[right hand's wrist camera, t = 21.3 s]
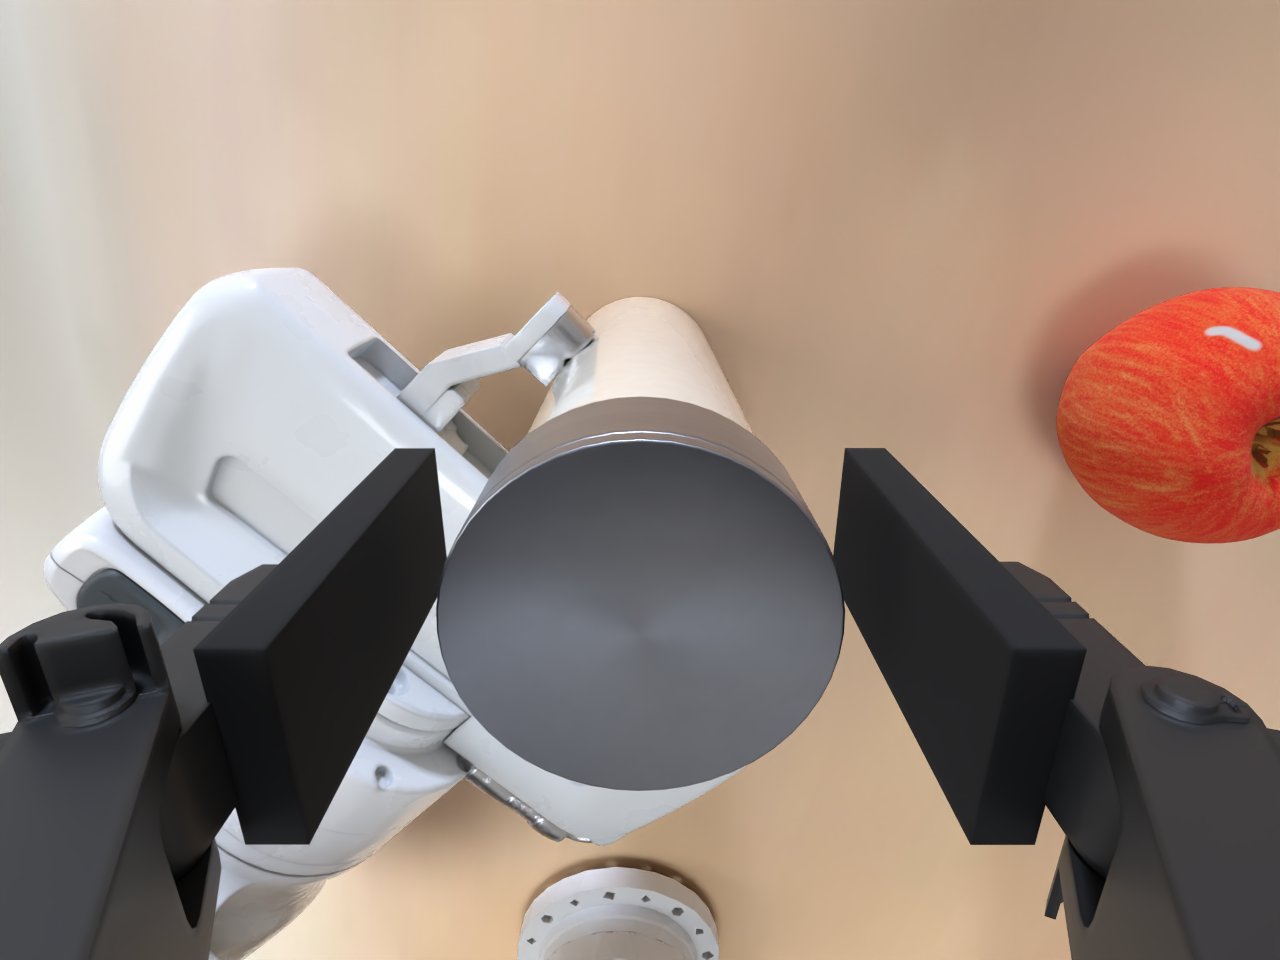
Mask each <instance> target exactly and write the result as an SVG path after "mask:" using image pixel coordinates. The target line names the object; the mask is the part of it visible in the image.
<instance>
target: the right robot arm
mask: <svg viewBox="0 0 1280 960" xmlns="http://www.w3.org/2000/svg"><path fill="white" fill-rule="evenodd" d="M833 557H834V559H835V562H836V564H837V568H838V572H839V575H840V579H841V583H842V587H843V596H844V601H845V603H846V604H847V606H848V608H849V610H850V612H851V614H852V616H853V618H854V620H855V622H856V624H857V626H858V628H859V630H860V632H861V634H862V635H863V637H864V639H865V641H866V643H867V645H868V647H869V649H870V651H871V653H872V655H873V657H874V659H875V661H876V663H877V664H878V666H879V668H880V670H881V672H882V674H883V676H884V678H885V680H886V682H887V684H888V686H889V688H890V690H891V692H892V694H893V695H894V697H895V699H896V701H897V703H898V705H899V707H900V709H901V711H902V713H903V715H904V717H905V719H906V721H907V723H908V725H909V726H910V728H911V730H912V732H913V734H914V736H915V738H916V740H917V742H918V744H919V746H920V748H921V750H922V752H923V754H924V755H925V757H926V759H927V761H928V763H929V765H930V767H931V769H932V771H933V773H934V775H935V777H936V779H937V781H938V783H939V785H940V786H941V788H942V790H943V792H944V794H945V796H946V798H947V800H948V802H949V804H950V806H951V808H952V810H953V812H954V814H955V815H956V817H957V819H958V821H959V823H960V825H961V827H962V829H963V831H964V833H965V835H966V837H967V839H968V841H969V843H970V845H1035V842H1036V838H1037V834H1038V831H1039V827H1040V823H1041V819H1042V816H1043V812H1044V808H1045V805H1046V806H1047V808H1048V809H1049V811H1050V812H1051V814H1052V815H1053V817H1054V818H1055V819H1056V821H1057V822H1058V824H1059V825H1060V827H1061V828H1062V830H1063V831H1064V833H1065V834H1066V837H1065V840H1064V843H1063V847H1062V850H1061V854H1060V857H1059V861H1058V864H1057V868H1056V871H1055V875H1054V878H1053V882H1052V885H1051V889H1050V892H1049V896H1048V899H1047V904H1046V910H1045V916H1046V917H1049V918H1052V919H1056V916H1057V913H1058V910H1059V906H1060V903H1062V902H1064V909H1065V916H1066V923H1067V930H1068V937H1069V944H1070V951H1071V957H1072V960H1280V731H1279V730H1273V729H1268V728H1266V726H1265V725H1264V723H1263V721H1262V720H1261V719H1260V717H1259V716H1258V715H1257V714H1256V713H1255V712H1254V711H1253V710H1252V709H1251V707H1250V706H1249V705H1248V704H1247V703H1245V702H1244V701H1242V700H1241V699H1239V698H1238V697H1236V696H1235V695H1233V694H1232V693H1230V692H1229V691H1227V690H1226V689H1224V688H1222V687H1220V686H1217V685H1215V684H1213V683H1211V682H1208V681H1206V680H1204V679H1202V678H1199V677H1197V676H1194V675H1191V674H1187V673H1183V672H1180V671H1176V670H1173V669H1169V668H1162V667H1153V666H1145V665H1144V664H1143V663H1142V662H1141V661H1140V660H1139V659H1138V658H1136V657H1135V656H1134V655H1133V654H1132V653H1131V652H1130V651H1129V650H1128V649H1127V648H1125V647H1124V646H1123V645H1122V644H1121V643H1120V642H1119V641H1118V640H1117V639H1116V638H1115V637H1113V636H1112V635H1111V634H1110V633H1109V632H1108V631H1107V630H1106V629H1105V628H1104V627H1102V626H1101V625H1100V624H1099V623H1098V622H1097V621H1096V620H1095V619H1094V618H1089V614H1088V613H1087V612H1086V611H1085V610H1084V609H1083V608H1082V607H1081V606H1079V605H1078V604H1077V603H1076V602H1071V597H1070V596H1068V595H1067V594H1066V593H1065V592H1064V591H1063V590H1062V589H1061V588H1060V587H1059V586H1057V585H1056V584H1055V583H1054V582H1053V581H1052V580H1051V579H1050V578H1048V577H1046V576H1044V575H1042V574H1040V573H1038V572H1036V571H1035V570H1033V569H1031V568H1029V567H1027V566H1025V565H1023V564H1021V563H1019V562H999V561H998V560H997V559H996V558H995V557H994V556H993V555H992V554H991V553H990V552H989V551H988V550H987V549H986V548H985V547H984V546H983V545H982V544H981V543H980V542H979V541H978V540H977V539H976V538H975V537H974V536H973V535H972V534H971V533H970V532H969V531H968V530H967V529H966V528H965V527H964V526H963V525H962V524H961V523H960V522H959V521H958V520H957V519H956V518H955V517H954V516H953V515H952V514H951V513H950V512H949V511H948V510H947V509H946V508H945V507H944V506H943V505H942V504H940V503H939V502H938V501H937V500H936V499H935V498H934V497H933V496H932V495H931V494H930V493H929V492H928V491H927V490H926V489H925V488H924V487H923V486H922V485H921V484H920V483H919V482H918V481H917V480H916V479H915V478H914V477H913V476H912V475H911V474H910V473H909V472H908V471H907V470H906V469H905V468H904V467H903V466H902V465H901V464H900V463H899V462H898V461H897V460H896V459H895V458H894V457H893V456H892V455H891V454H890V453H889V452H888V451H887V450H886V449H885V448H845V454H844V463H843V472H842V481H841V490H840V499H839V508H838V518H837V527H836V536H835V545H834V554H833ZM446 559H447V554H446V545H445V536H444V527H443V518H442V508H441V499H440V490H439V481H438V472H437V463H436V454H435V448H395V449H394V450H393V451H392V452H391V453H390V454H389V455H388V456H387V457H386V458H385V459H384V460H383V461H382V462H381V463H380V464H379V465H378V466H377V467H376V468H375V469H374V470H373V471H372V472H371V473H370V474H369V475H368V476H367V477H366V478H365V479H364V480H363V481H362V482H361V483H360V484H359V485H358V486H357V487H356V488H355V489H354V490H353V491H352V492H351V493H350V494H349V495H348V496H347V497H346V498H345V499H344V500H343V501H342V502H341V503H340V504H338V505H337V506H336V507H335V508H334V509H333V510H332V511H331V512H330V513H329V514H328V515H327V516H326V517H325V518H324V519H323V520H322V521H321V522H320V523H319V524H318V525H317V526H316V527H315V528H314V529H313V530H312V531H311V532H310V533H309V534H308V535H307V536H306V537H305V538H304V539H303V540H302V541H301V542H300V543H299V544H298V545H297V546H296V547H295V548H294V549H293V550H292V551H291V552H290V553H289V554H288V555H287V556H286V557H285V558H284V559H283V560H282V561H281V562H280V563H279V564H262V565H260V566H258V567H256V568H254V569H253V570H251V571H249V572H247V573H245V574H243V575H241V576H239V577H237V578H235V579H234V580H232V581H230V582H229V583H228V584H227V585H226V586H225V587H224V588H223V589H222V590H220V591H219V592H218V593H217V594H216V595H215V596H214V597H213V598H212V599H211V600H210V603H209V604H205V605H204V606H203V607H202V608H201V609H200V610H199V611H198V612H197V613H195V614H194V615H193V616H192V620H191V621H187V622H186V623H185V624H183V625H182V626H181V627H180V628H179V629H178V630H177V631H176V632H175V633H174V634H173V635H171V636H170V637H169V638H168V639H167V640H166V641H165V642H164V643H163V644H162V645H161V646H160V645H159V642H158V638H157V635H156V631H155V628H154V624H153V621H152V618H151V614H150V612H149V611H147V610H146V609H144V608H142V607H141V606H139V605H132V604H123V603H112V604H101V605H91V606H87V607H83V608H79V609H75V610H71V611H66V612H62V613H59V614H57V615H54V616H52V617H49V618H46V619H44V620H41V621H38V622H36V623H33V624H31V625H29V626H27V627H26V628H24V629H22V630H20V631H19V632H17V633H15V634H13V635H11V636H10V637H8V638H7V639H6V640H4V641H3V642H2V643H1V644H0V675H1V678H2V680H3V683H4V685H5V688H6V691H7V693H8V696H9V698H10V701H11V703H12V706H13V708H14V711H15V714H16V716H17V719H18V723H17V724H16V726H15V728H14V730H13V731H12V732H9V733H4V734H0V960H209V953H210V946H211V939H212V932H213V925H214V918H215V911H216V904H217V897H218V890H219V883H220V876H221V869H222V868H221V861H220V854H219V850H218V847H217V843H216V840H215V837H216V835H217V834H218V832H219V831H220V829H221V828H222V826H223V825H224V823H225V822H226V820H227V819H228V817H229V816H230V814H231V813H232V811H233V810H234V808H236V812H237V816H238V819H239V823H240V827H241V831H242V834H243V838H244V842H245V845H310V843H311V841H312V839H313V837H314V835H315V833H316V831H317V829H318V827H319V825H320V823H321V821H322V819H323V817H324V815H325V814H326V812H327V810H328V808H329V806H330V804H331V802H332V800H333V798H334V796H335V794H336V792H337V790H338V788H339V786H340V785H341V783H342V781H343V779H344V777H345V775H346V773H347V771H348V769H349V767H350V765H351V763H352V761H353V759H354V757H355V755H356V754H357V752H358V750H359V748H360V746H361V744H362V742H363V740H364V738H365V736H366V734H367V732H368V730H369V728H370V726H371V724H372V723H373V721H374V719H375V717H376V715H377V713H378V711H379V709H380V707H381V705H382V703H383V701H384V699H385V697H386V695H387V694H388V692H389V690H390V688H391V686H392V684H393V682H394V680H395V678H396V676H397V674H398V672H399V670H400V668H401V666H402V664H403V663H404V661H405V659H406V657H407V655H408V653H409V651H410V649H411V647H412V645H413V643H414V641H415V639H416V637H417V635H418V634H419V632H420V630H421V628H422V626H423V624H424V622H425V620H426V618H427V616H428V614H429V612H430V610H431V608H432V606H433V604H434V603H435V601H436V599H437V596H438V587H439V582H440V579H441V575H442V572H443V568H444V564H445V561H446Z"/></svg>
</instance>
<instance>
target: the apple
mask: <svg viewBox="0 0 1280 960" xmlns="http://www.w3.org/2000/svg"><path fill="white" fill-rule="evenodd" d="M1056 428H1057V435H1058V439H1059V443H1060V446H1061V449H1062V453H1063V455H1064V457H1065V460H1066V462H1067V464H1068V466H1069V468H1070V469H1071V471H1072V473H1073V474H1074V476H1075V478H1076V479H1077V481H1078V482H1079V483H1080V485H1081V486H1082V488H1083V489H1084V490H1085V491H1086V493H1087V494H1088V495H1089V496H1090V497H1091V498H1092V499H1093V500H1094V501H1096V502H1097V503H1098V504H1099V505H1100V506H1101V507H1103V508H1104V509H1105V510H1107V511H1108V512H1110V513H1111V514H1113V515H1114V516H1116V517H1118V518H1119V519H1121V520H1122V521H1124V522H1126V523H1128V524H1130V525H1132V526H1134V527H1136V528H1138V529H1140V530H1142V531H1145V532H1147V533H1150V534H1153V535H1156V536H1159V537H1163V538H1167V539H1171V540H1177V541H1183V542H1193V543H1228V542H1237V541H1243V540H1248V539H1252V538H1256V537H1259V536H1262V535H1264V534H1267V533H1270V532H1272V531H1275V530H1277V529H1280V293H1278V292H1274V291H1270V290H1262V289H1255V288H1240V287H1228V288H1214V289H1207V290H1201V291H1196V292H1193V293H1189V294H1185V295H1182V296H1179V297H1176V298H1173V299H1170V300H1167V301H1165V302H1162V303H1160V304H1158V305H1155V306H1153V307H1151V308H1149V309H1147V310H1145V311H1142V312H1140V313H1139V314H1137V315H1135V316H1133V317H1131V318H1130V319H1128V320H1126V321H1125V322H1123V323H1122V324H1120V325H1118V326H1117V327H1116V328H1114V329H1113V330H1111V331H1110V332H1108V333H1107V334H1106V335H1104V336H1103V337H1102V338H1100V339H1099V340H1098V341H1096V342H1095V343H1094V344H1093V345H1091V346H1090V347H1089V348H1088V349H1087V350H1086V351H1085V352H1084V353H1083V354H1082V355H1081V356H1080V357H1079V359H1078V360H1077V361H1076V363H1075V365H1074V366H1073V368H1072V369H1071V371H1070V373H1069V375H1068V378H1067V380H1066V382H1065V385H1064V387H1063V390H1062V393H1061V397H1060V400H1059V405H1058V411H1057V417H1056Z"/></svg>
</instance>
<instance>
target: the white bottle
mask: <svg viewBox="0 0 1280 960" xmlns="http://www.w3.org/2000/svg"><path fill="white" fill-rule="evenodd" d="M586 321H587V322H588V323H589V324H590V325H591V326H592V327H593V328H594V329H595V330H596V332H595V333H594V337H593V338H592V340H591V341H590V342H589V343H588V345H587V346H586V347H585V348H584V349H583V350H582V351H581V352H579V353H578V354H577V355H576V356H574V357H573V358H568V359H567V360H566V363H565V365H564V367H563V369H562V370H561V371H560V372H559V374H558V375H557V376H556V377H555V379H554V381H553V383H552V385H551V387H550V389H549V391H548V393H547V395H546V397H545V399H544V401H543V403H542V405H541V407H540V409H539V411H538V413H537V415H536V417H535V419H534V421H533V423H532V426H531V428H530V430H529V432H528V434H529V433H530V432H532V431H533V430H535V429H536V428H538V427H539V426H541V425H542V424H544V423H545V422H547V421H548V420H550V419H552V418H554V417H556V416H559V415H561V414H563V413H565V412H567V411H569V410H571V409H574V408H577V407H580V406H584V405H587V404H590V403H593V402H598V401H603V400H608V399H613V398H622V397H639V396H643V397H658V398H668V399H673V400H678V401H683V402H688V403H691V404H694V405H697V406H700V407H703V408H706V409H709V410H712V411H714V412H716V413H718V414H720V415H722V416H724V417H726V418H728V419H730V420H732V421H734V422H736V423H737V424H739V425H740V426H742V427H743V428H744V429H746V430H747V431H749V432H750V433H752V431H751V429H750V426H749V424H748V422H747V420H746V418H745V416H744V414H743V412H742V410H741V408H740V406H739V404H738V402H737V400H736V398H735V396H734V394H733V392H732V390H731V388H730V386H729V384H728V382H727V380H726V378H725V376H724V374H723V372H722V370H721V368H720V366H719V364H718V362H717V360H716V358H715V356H714V354H713V352H712V350H711V348H710V346H709V344H708V342H707V340H706V338H705V336H704V334H703V332H702V331H701V329H700V327H699V326H698V325H697V324H696V322H695V321H694V320H693V319H692V318H691V317H690V316H689V315H688V314H687V313H685V312H684V311H683V310H681V309H680V308H678V307H676V306H675V305H673V304H671V303H669V302H666V301H663V300H660V299H655V298H650V297H630V298H625V299H620V300H618V301H615V302H612V303H610V304H608V305H606V306H604V307H602V308H601V309H599V310H598V311H596V312H595V313H594V314H593V315H592V316H590V317H589V318H588V319H587V320H586ZM528 434H527V435H528ZM752 434H753V433H752Z"/></svg>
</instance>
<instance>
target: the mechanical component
mask: <svg viewBox="0 0 1280 960" xmlns="http://www.w3.org/2000/svg"><path fill="white" fill-rule="evenodd" d="M518 960H719V945H718V936H717V927H716V924H715V922H714V919H713V917H712V915H711V913H710V910H709V908H708V907H707V906H706V905H705V904H704V902H703V901H702V900H701V899H700V898H699V897H698V895H697V894H696V893H695V892H693V891H692V890H690V889H688V888H687V887H685V886H684V885H682V884H681V883H679V882H678V881H676V880H674V879H672V878H669V877H666V876H664V875H661V874H658V873H656V872H651V871H646V870H640V869H634V868H623V867H611V868H603V869H594V870H586V871H584V872H581V873H578V874H575V875H572V876H570V877H567V878H564V879H562V880H560V881H558V882H557V883H555V884H553V885H552V886H550V887H548V888H547V889H546V890H545V891H544V892H542V893H541V894H540V895H539V896H538V897H537V898H536V899H535V900H534V901H533V903H532V904H531V906H530V907H529V909H528V910H527V912H526V914H525V916H524V920H523V924H522V928H521V932H520V936H519V941H518Z"/></svg>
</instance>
